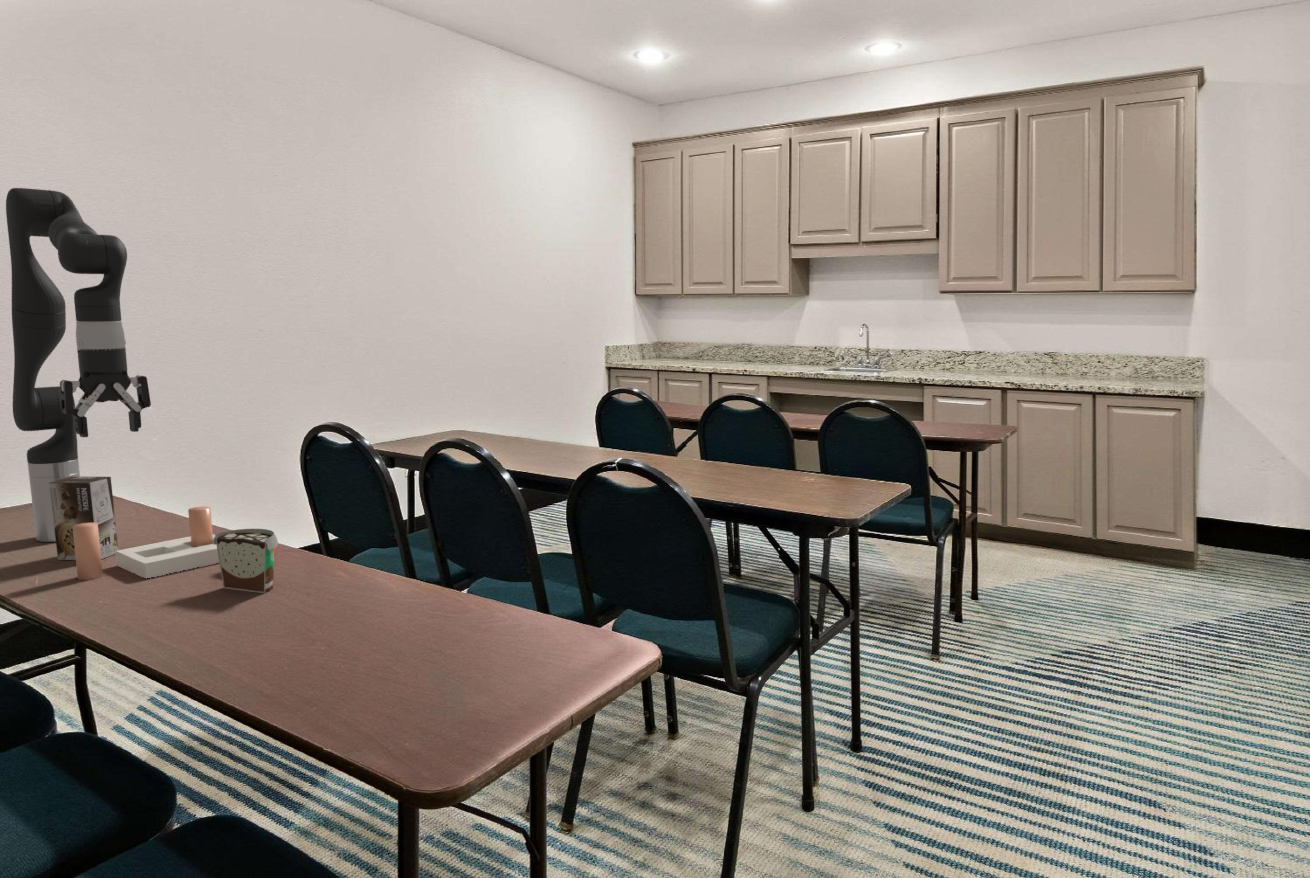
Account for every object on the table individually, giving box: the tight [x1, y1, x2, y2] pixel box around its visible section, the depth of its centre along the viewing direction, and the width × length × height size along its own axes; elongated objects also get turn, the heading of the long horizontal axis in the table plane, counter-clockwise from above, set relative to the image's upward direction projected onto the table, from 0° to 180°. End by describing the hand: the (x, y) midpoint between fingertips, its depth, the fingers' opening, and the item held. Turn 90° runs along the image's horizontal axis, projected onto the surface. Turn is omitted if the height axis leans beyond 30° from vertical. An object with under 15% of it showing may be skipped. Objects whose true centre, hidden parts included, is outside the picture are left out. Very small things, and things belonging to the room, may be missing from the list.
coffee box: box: [49, 476, 119, 561], centre depth 180 cm, size 9×6×16 cm
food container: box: [214, 528, 279, 594], centre depth 161 cm, size 12×6×10 cm, turn 71°
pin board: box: [115, 506, 220, 580], centre depth 177 cm, size 14×18×10 cm
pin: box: [72, 523, 104, 581], centre depth 167 cm, size 4×4×10 cm
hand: (109, 434), depth 165 cm, fingers open, 8 cm apart
